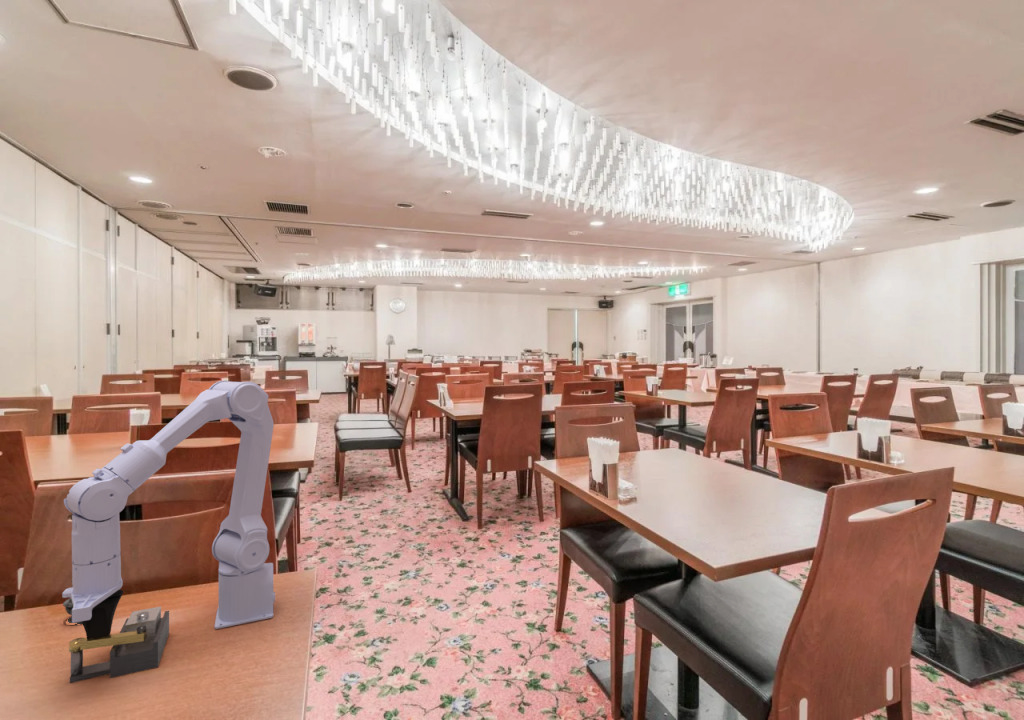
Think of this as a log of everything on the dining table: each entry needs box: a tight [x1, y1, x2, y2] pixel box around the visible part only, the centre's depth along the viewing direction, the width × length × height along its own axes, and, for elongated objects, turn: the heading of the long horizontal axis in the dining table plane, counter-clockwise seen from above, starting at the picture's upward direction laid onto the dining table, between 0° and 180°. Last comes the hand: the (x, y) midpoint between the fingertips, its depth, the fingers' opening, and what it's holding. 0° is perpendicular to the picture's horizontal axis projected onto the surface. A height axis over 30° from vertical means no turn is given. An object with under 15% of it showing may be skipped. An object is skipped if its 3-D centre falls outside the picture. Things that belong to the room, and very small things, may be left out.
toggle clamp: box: [69, 610, 170, 684], centre depth 81 cm, size 11×11×4 cm
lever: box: [68, 625, 147, 653], centre depth 77 cm, size 10×2×2 cm, turn 108°
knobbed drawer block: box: [125, 606, 162, 637], centre depth 83 cm, size 4×5×3 cm
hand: (98, 645), depth 77 cm, fingers closed, pressing on lever
